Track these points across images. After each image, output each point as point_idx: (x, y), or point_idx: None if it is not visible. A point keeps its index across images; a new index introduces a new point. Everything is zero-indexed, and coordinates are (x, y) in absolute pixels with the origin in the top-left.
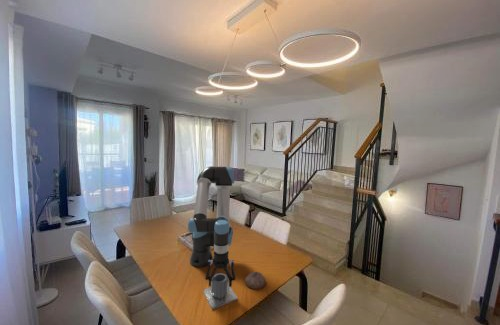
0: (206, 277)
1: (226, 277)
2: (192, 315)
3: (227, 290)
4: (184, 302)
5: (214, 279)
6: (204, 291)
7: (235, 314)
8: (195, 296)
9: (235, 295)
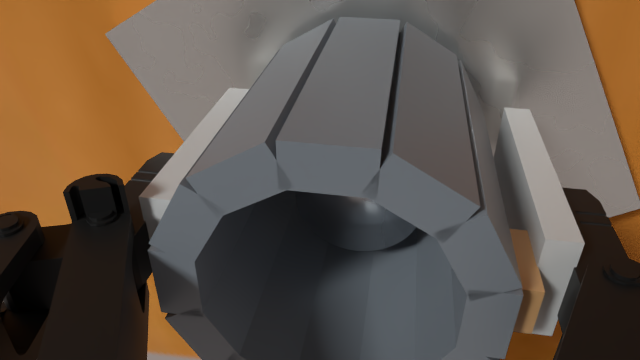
0: (18, 328)
1: (497, 308)
2: (153, 319)
3: (495, 56)
4: (3, 189)
5: (210, 337)
6: (138, 71)
7: (554, 355)
8: (67, 113)
9: (616, 163)
